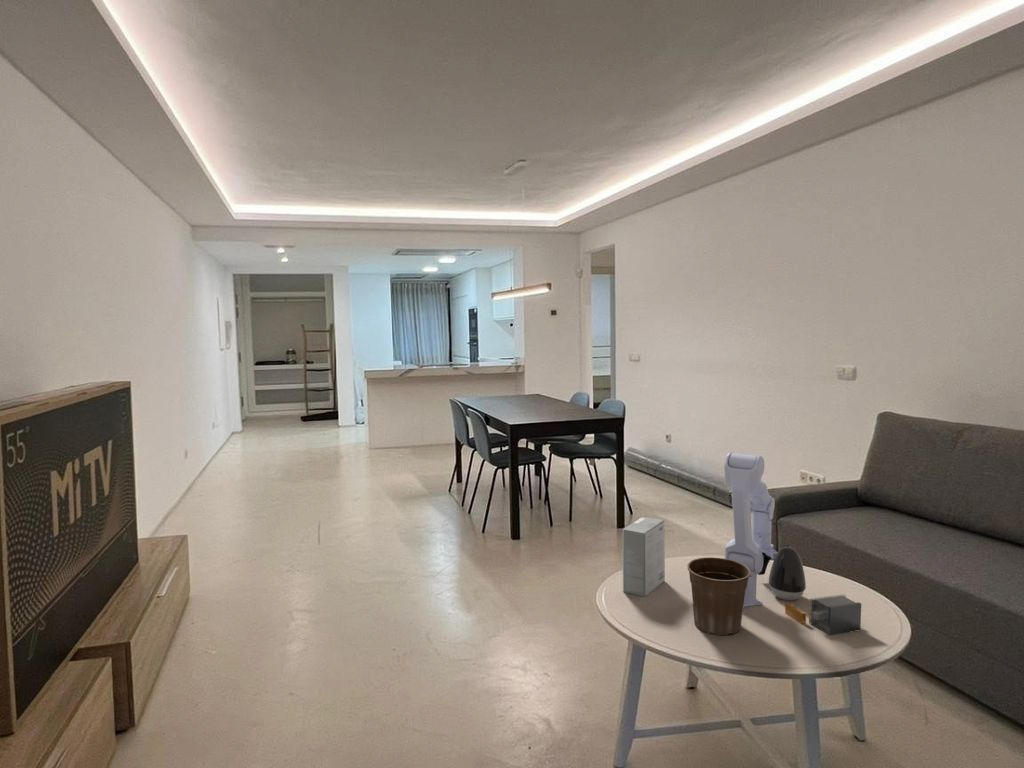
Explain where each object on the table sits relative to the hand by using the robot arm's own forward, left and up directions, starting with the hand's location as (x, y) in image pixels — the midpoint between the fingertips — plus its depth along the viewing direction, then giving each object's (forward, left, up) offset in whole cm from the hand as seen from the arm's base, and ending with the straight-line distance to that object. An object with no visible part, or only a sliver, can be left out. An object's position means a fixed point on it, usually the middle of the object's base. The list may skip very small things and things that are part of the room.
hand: (760, 573), depth 205 cm
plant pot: (-30, -23, -3) cm, 38 cm away
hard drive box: (-37, +7, -3) cm, 38 cm away
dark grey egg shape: (0, -12, -2) cm, 13 cm away
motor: (0, -29, -2) cm, 29 cm away
